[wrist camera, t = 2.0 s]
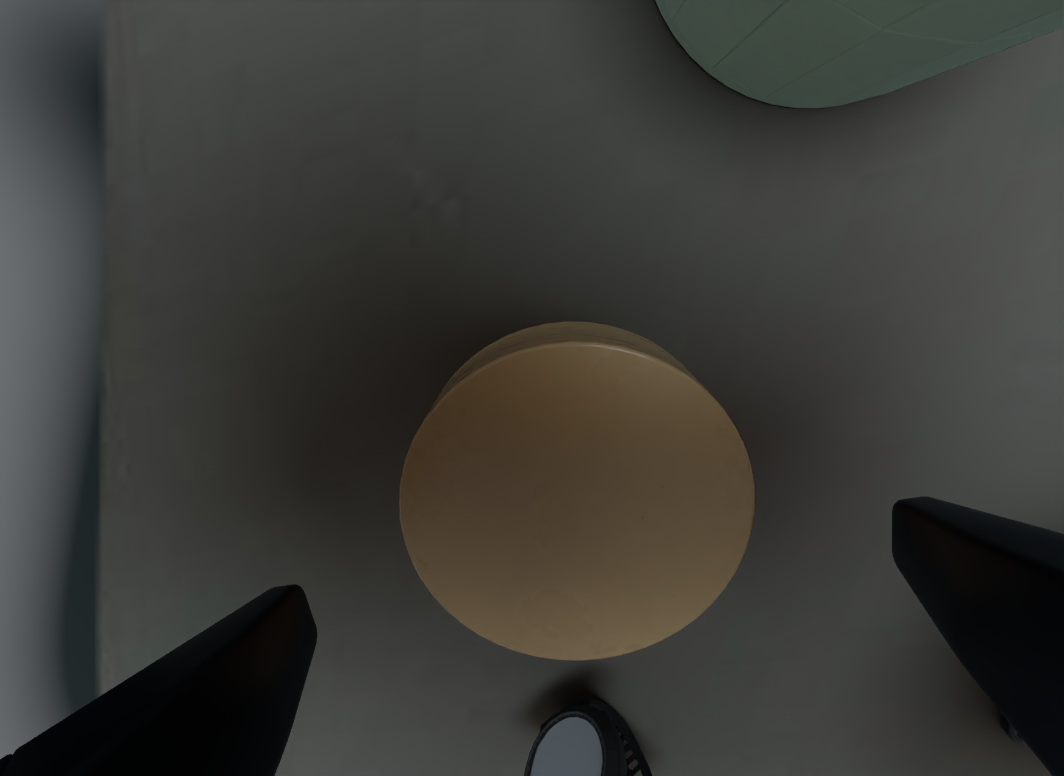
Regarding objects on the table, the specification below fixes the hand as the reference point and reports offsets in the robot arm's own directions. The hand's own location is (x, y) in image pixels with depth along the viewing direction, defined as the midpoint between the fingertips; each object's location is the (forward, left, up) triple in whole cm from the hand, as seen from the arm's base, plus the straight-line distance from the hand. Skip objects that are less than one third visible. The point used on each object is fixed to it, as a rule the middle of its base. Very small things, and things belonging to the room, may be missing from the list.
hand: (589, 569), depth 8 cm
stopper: (0, 0, -8) cm, 8 cm away
